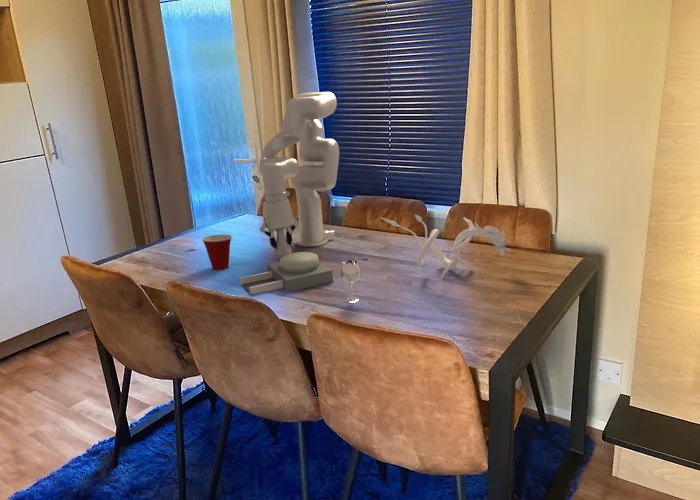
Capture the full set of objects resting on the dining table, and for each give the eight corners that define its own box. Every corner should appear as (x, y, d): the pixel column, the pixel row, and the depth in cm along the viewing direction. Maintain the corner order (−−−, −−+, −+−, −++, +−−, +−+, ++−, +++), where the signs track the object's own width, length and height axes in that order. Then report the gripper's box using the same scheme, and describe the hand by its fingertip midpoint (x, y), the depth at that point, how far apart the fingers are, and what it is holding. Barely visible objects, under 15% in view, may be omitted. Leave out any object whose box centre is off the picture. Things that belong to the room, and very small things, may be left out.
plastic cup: (241, 263, 216) (237, 232, 213) (226, 273, 207) (222, 241, 203) (216, 262, 220) (211, 231, 216) (200, 271, 210) (195, 240, 207)
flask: (289, 257, 208) (286, 231, 204) (270, 257, 209) (266, 231, 206) (295, 250, 214) (292, 225, 211) (276, 250, 216) (273, 225, 213)
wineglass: (341, 297, 178) (339, 260, 175) (360, 295, 179) (358, 258, 175) (343, 304, 173) (340, 266, 169) (362, 302, 173) (360, 264, 169)
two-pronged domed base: (309, 265, 209) (308, 246, 207) (333, 281, 192) (331, 261, 190) (237, 281, 198) (234, 261, 196) (254, 299, 181) (252, 278, 179)
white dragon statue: (367, 271, 195) (370, 205, 182) (390, 244, 211) (394, 181, 198) (494, 307, 179) (507, 237, 166) (509, 275, 195) (522, 208, 182)
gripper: (294, 191, 211) (299, 238, 217) (249, 199, 204) (256, 247, 211) (302, 194, 205) (307, 243, 211) (256, 203, 198) (262, 253, 204)
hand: (281, 245), depth 211 cm, fingers closed on flask, 5 cm apart
